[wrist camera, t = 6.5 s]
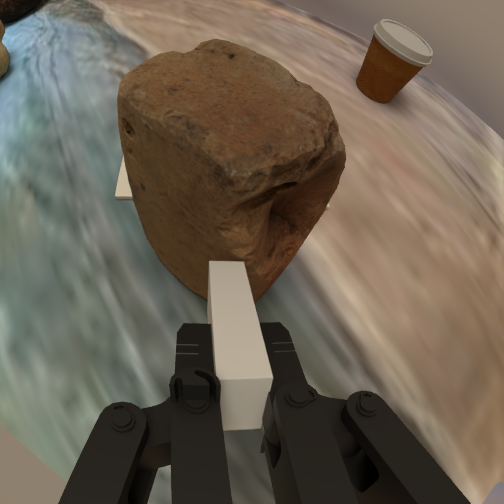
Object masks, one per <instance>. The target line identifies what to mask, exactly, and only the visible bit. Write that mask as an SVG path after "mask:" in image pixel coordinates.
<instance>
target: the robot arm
mask: <svg viewBox="0 0 504 504" xmlns="http://www.w3.org/2000/svg"><path fill="white" fill-rule="evenodd" d="M207 314H208V324H191V323H184V324H183V325H182V326H181V328H180V329H179V331H178V332H177V346H176V361H175V374H174V375H173V376H172V377H171V381H170V384H169V387H170V394H171V396H170V397H169V398H168V399H167V400H166V401H164V402H163V403H161V404H159V405H156V406H152V407H148V408H143V409H140V408H139V407H138V406H136V405H134V404H132V403H128V402H117V403H113V404H111V405H109V406H107V407H106V408H105V409H104V410H103V411H102V412H101V414H100V416H99V418H98V420H97V422H96V424H95V426H94V428H93V430H92V432H91V434H90V436H89V438H88V440H87V442H86V444H85V446H84V448H83V450H82V452H81V455H80V457H79V459H78V461H77V463H76V465H75V467H74V470H73V472H72V474H71V476H70V478H69V481H68V483H67V485H66V488H65V489H64V492H63V494H62V496H61V499H60V501H59V503H58V504H147V502H148V499H149V496H150V492H151V489H152V486H153V483H154V480H155V476H156V473H157V470H158V468H160V467H164V466H168V465H171V492H172V504H232V497H231V490H230V483H229V475H228V467H227V459H226V451H225V443H224V434H223V430H245V429H260V428H261V426H262V422H263V425H264V430H265V435H264V438H263V442H262V445H261V453H264V451H265V453H266V458H267V463H268V468H269V472H270V477H271V482H272V487H273V492H274V496H275V501H276V504H471V503H470V502H469V501H468V499H467V498H466V497H465V496H464V495H463V493H462V492H461V491H460V490H459V489H458V488H457V486H456V485H455V484H454V483H453V482H452V480H451V479H450V478H449V477H448V476H447V474H446V473H445V472H444V471H443V470H442V469H441V467H440V466H439V465H438V464H437V463H436V461H435V460H434V459H433V458H432V457H431V456H430V454H429V453H428V452H427V451H426V450H425V448H424V447H423V446H422V445H421V444H420V443H419V441H418V440H417V439H416V438H415V437H414V435H413V434H412V433H411V432H410V431H409V430H408V428H407V427H406V426H405V425H404V424H403V422H402V421H401V420H400V419H399V418H398V417H397V415H396V414H395V413H394V412H393V411H392V410H391V408H390V407H389V406H388V405H387V404H386V402H385V401H384V400H383V399H382V398H381V397H379V396H378V395H377V394H375V393H372V392H369V391H359V392H355V393H353V394H352V395H350V396H349V398H348V400H344V399H336V398H329V397H325V396H322V395H320V394H318V393H317V391H316V390H315V389H314V388H313V387H311V386H310V385H308V383H307V381H306V379H305V376H304V373H303V370H302V368H301V365H300V362H299V359H298V356H297V353H296V352H295V348H294V345H293V343H292V339H291V337H290V334H289V331H288V330H287V329H286V328H285V327H284V326H283V325H282V324H281V323H280V322H275V323H259V320H258V316H257V312H256V309H255V305H254V301H253V297H252V293H251V289H250V285H249V281H248V277H247V273H246V269H245V265H244V262H237V261H209V277H208V307H207Z"/></svg>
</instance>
